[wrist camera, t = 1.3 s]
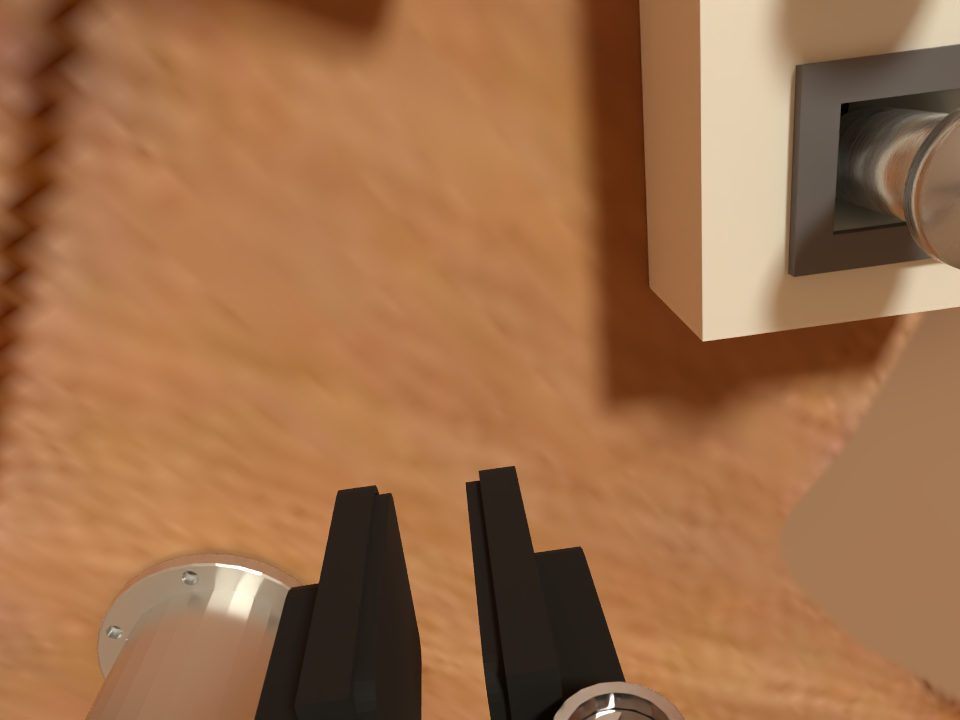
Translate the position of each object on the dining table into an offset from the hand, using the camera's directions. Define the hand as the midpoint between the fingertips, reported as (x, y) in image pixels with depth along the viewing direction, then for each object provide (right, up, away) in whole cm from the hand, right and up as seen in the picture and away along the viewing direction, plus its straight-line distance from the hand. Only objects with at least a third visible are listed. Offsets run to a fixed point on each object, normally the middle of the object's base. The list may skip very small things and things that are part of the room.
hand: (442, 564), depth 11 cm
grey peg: (+15, +11, +18) cm, 26 cm away
